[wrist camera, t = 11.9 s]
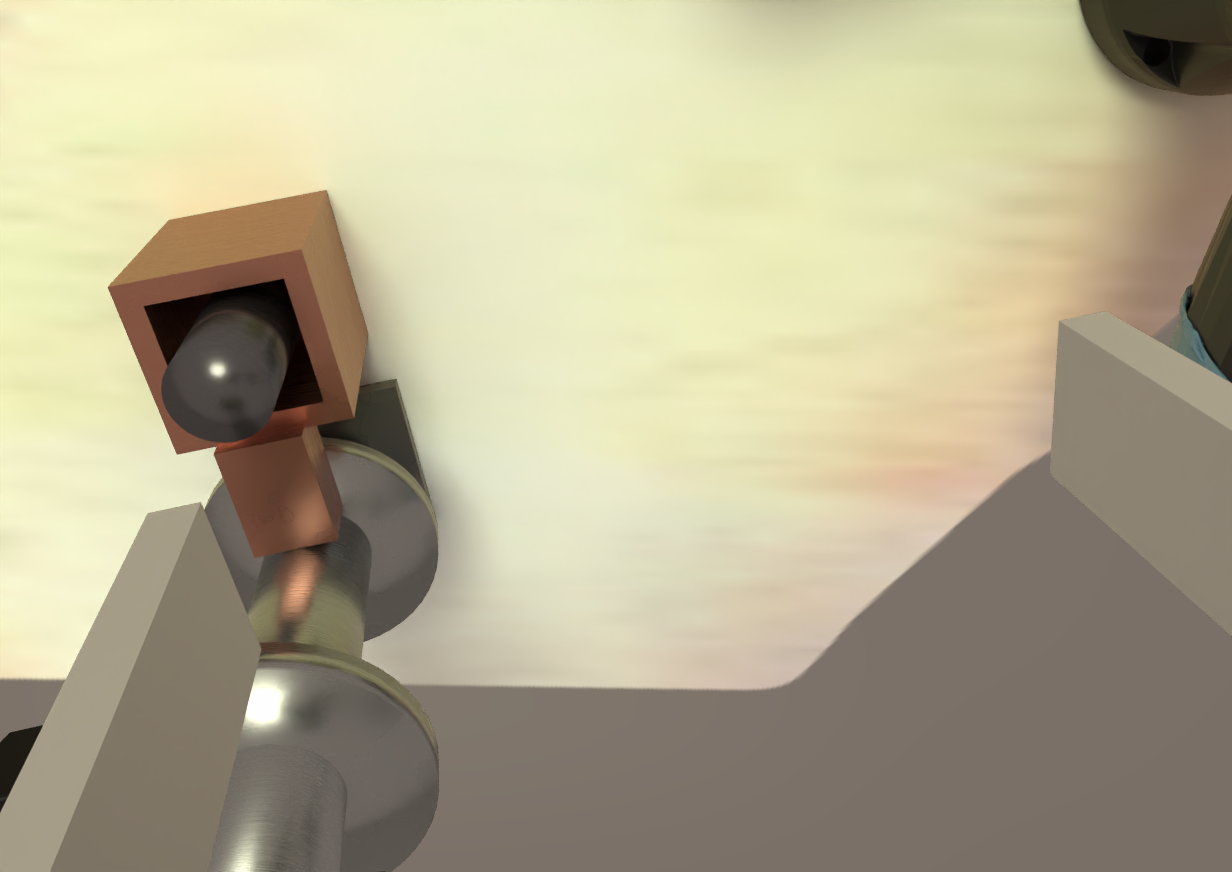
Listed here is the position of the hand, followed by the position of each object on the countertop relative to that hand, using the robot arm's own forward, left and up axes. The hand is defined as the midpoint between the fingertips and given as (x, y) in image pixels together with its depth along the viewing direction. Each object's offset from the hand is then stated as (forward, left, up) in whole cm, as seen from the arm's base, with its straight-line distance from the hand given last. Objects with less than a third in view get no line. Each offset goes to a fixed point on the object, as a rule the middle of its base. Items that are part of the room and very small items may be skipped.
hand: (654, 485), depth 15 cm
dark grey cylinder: (+13, +6, -37) cm, 39 cm away
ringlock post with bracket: (+13, +12, -37) cm, 41 cm away
